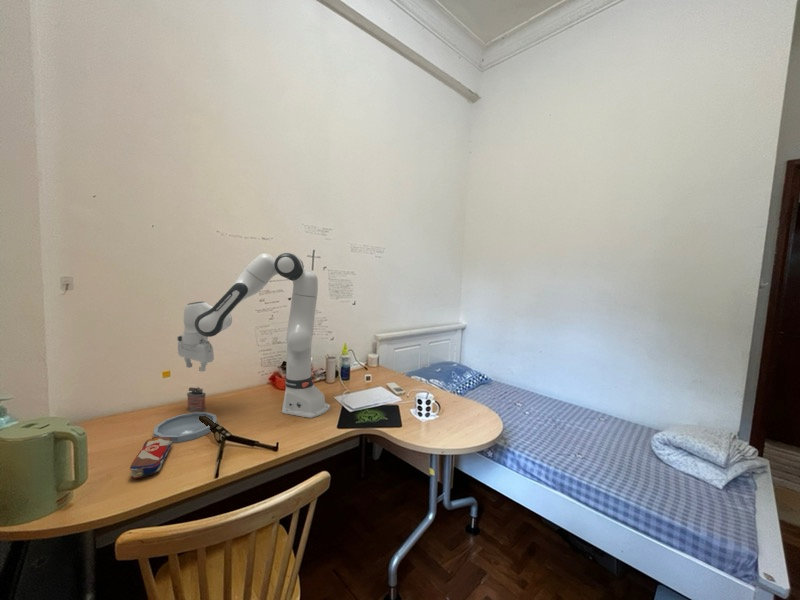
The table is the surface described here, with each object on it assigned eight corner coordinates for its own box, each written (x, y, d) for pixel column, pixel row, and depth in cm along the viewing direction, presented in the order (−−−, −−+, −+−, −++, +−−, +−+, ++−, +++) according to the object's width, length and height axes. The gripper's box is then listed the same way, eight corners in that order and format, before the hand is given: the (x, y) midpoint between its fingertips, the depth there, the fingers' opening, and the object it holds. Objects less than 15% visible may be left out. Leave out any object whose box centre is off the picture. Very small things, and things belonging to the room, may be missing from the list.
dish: (227, 424, 125) (227, 419, 124) (173, 448, 107) (173, 442, 106) (197, 413, 133) (197, 408, 133) (142, 433, 115) (142, 428, 115)
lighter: (207, 408, 138) (207, 387, 137) (202, 412, 135) (201, 390, 134) (191, 407, 139) (190, 385, 138) (185, 410, 135) (184, 388, 135)
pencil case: (186, 445, 109) (186, 431, 109) (152, 481, 90) (152, 465, 90) (151, 446, 107) (151, 433, 107) (109, 484, 88) (109, 468, 88)
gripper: (218, 340, 133) (217, 371, 134) (189, 334, 141) (189, 363, 142) (203, 342, 127) (203, 375, 128) (174, 336, 136) (174, 366, 137)
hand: (195, 369), depth 135 cm, fingers open, 8 cm apart
